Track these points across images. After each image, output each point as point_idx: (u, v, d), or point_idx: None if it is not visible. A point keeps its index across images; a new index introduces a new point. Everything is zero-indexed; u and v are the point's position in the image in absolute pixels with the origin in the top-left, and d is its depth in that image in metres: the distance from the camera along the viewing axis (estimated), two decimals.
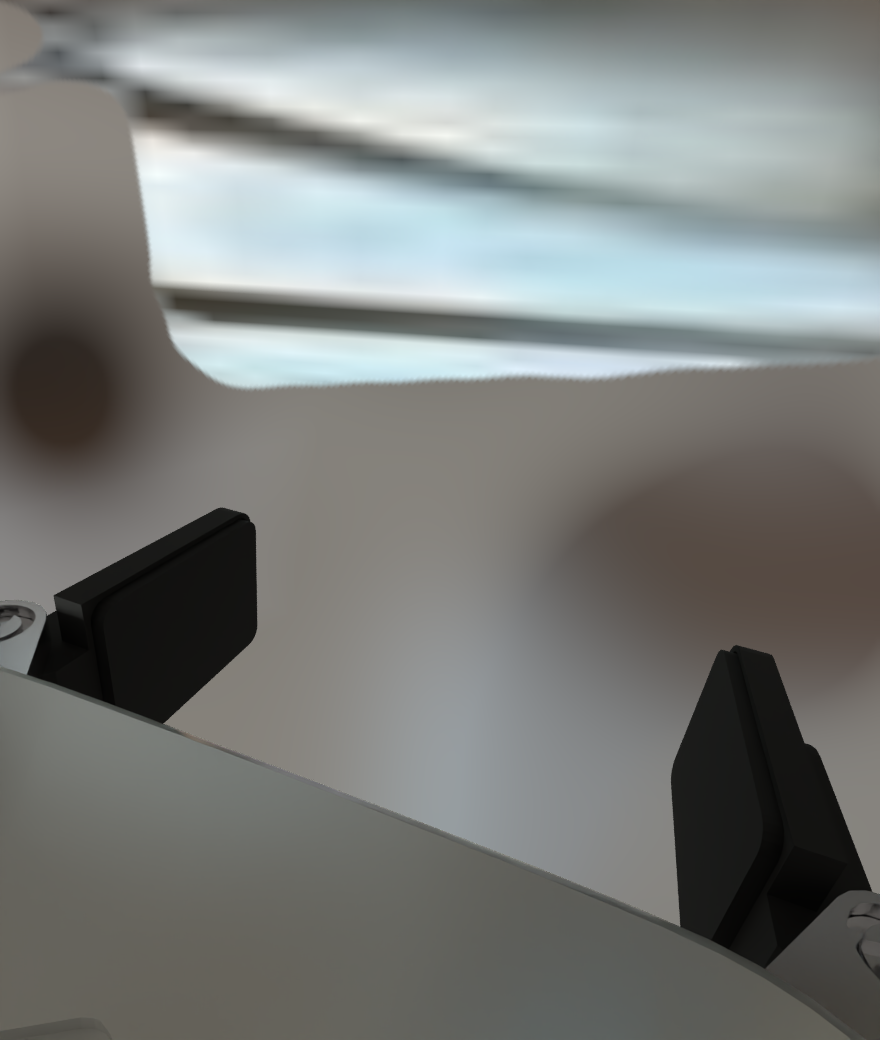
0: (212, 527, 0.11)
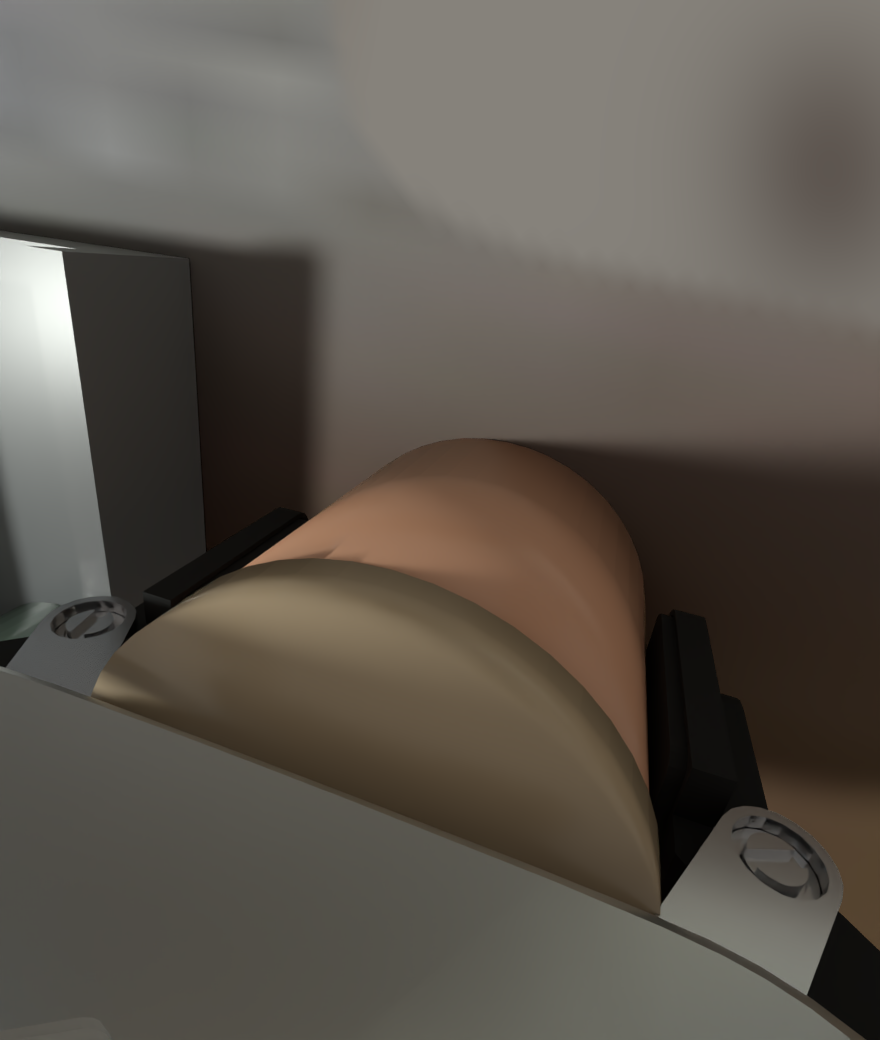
0: (276, 526, 0.11)
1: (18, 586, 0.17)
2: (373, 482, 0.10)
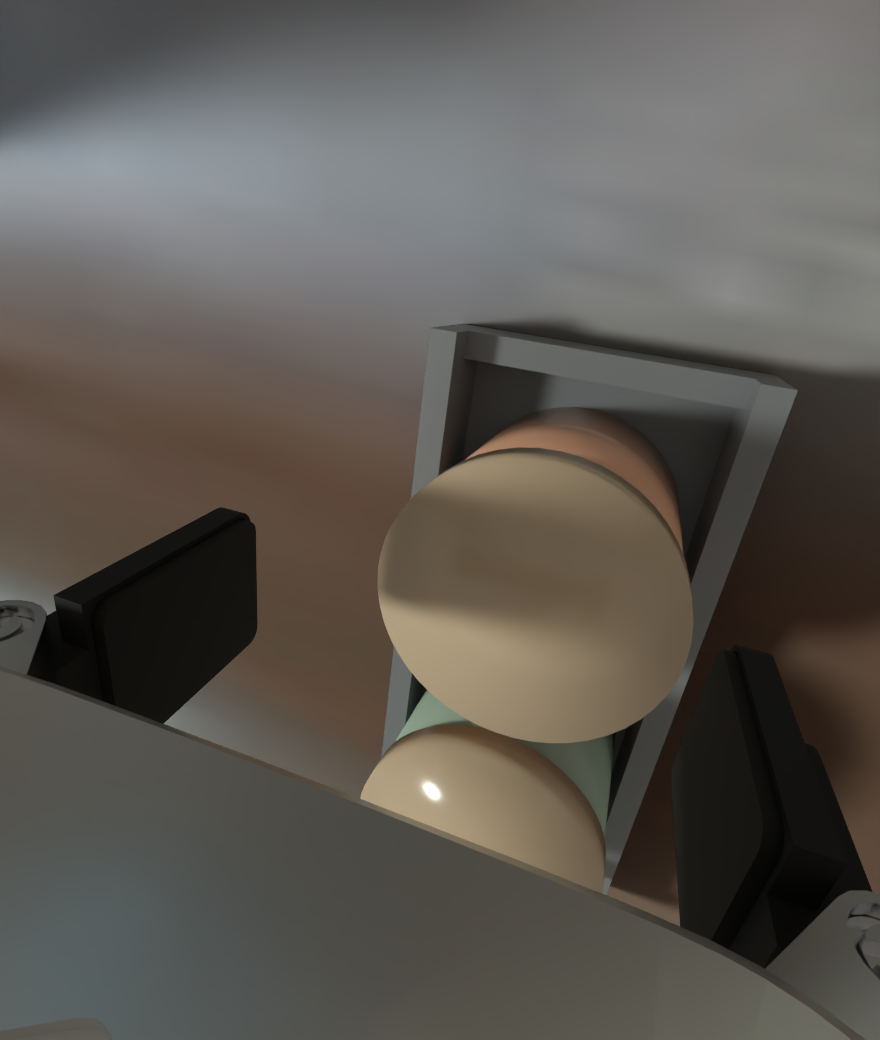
0: (212, 527, 0.11)
1: None
2: (515, 427, 0.16)
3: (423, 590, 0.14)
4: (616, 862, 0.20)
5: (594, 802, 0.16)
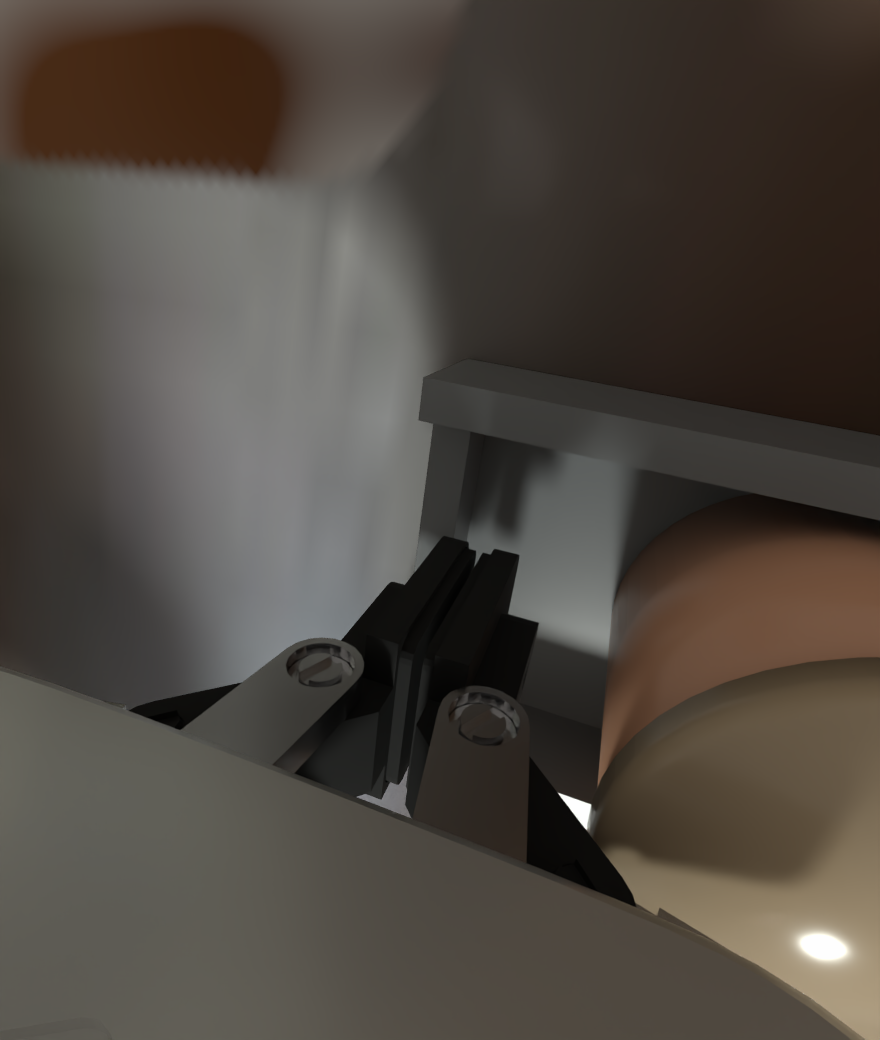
0: (453, 557, 0.11)
1: None
2: None
3: None
4: None
5: None
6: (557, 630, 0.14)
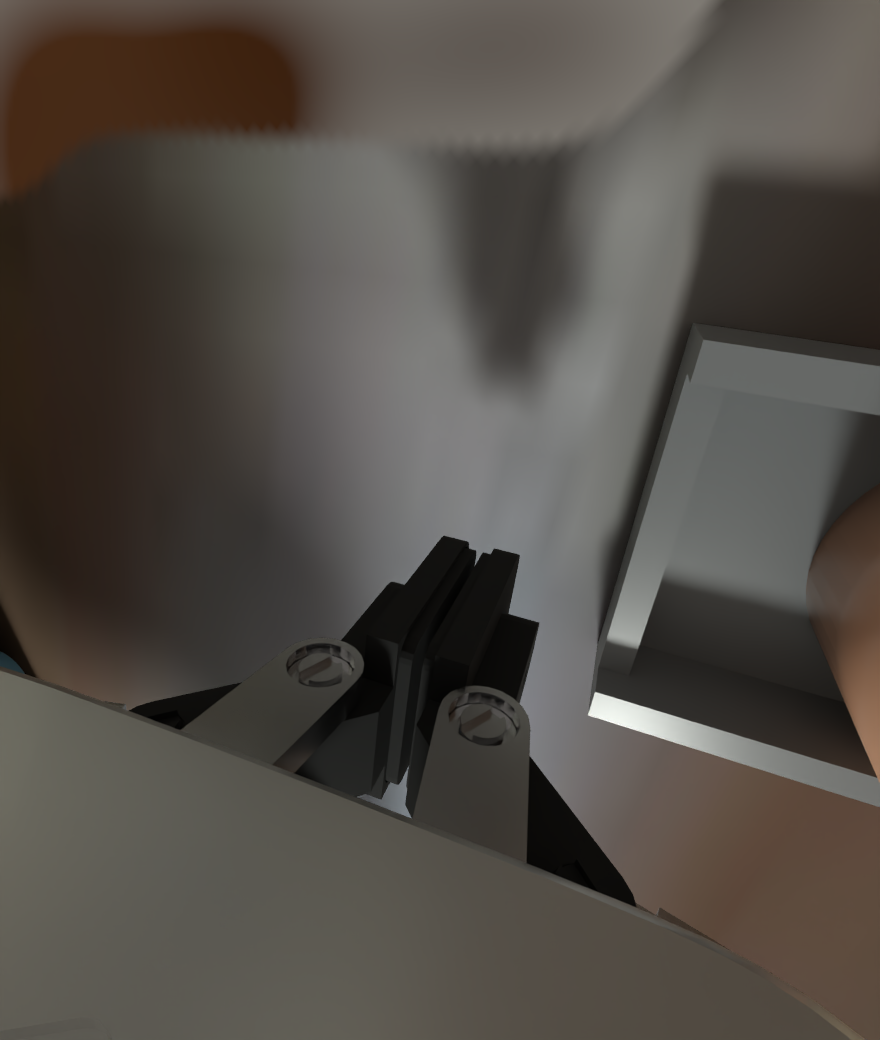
0: (453, 557, 0.11)
1: None
2: (837, 684, 0.12)
3: None
4: None
5: None
6: (763, 593, 0.14)
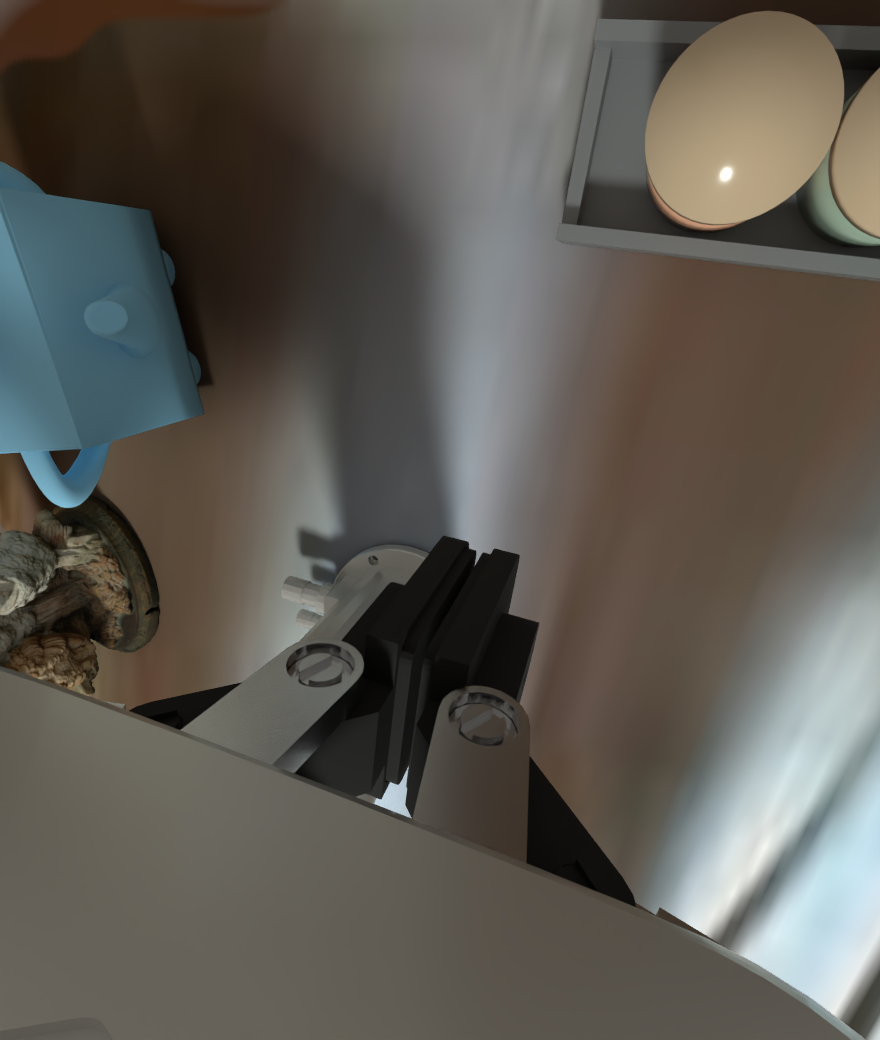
0: (453, 557, 0.11)
1: None
2: (649, 185, 0.28)
3: (727, 190, 0.24)
4: None
5: None
6: (638, 181, 0.31)
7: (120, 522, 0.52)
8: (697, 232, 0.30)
